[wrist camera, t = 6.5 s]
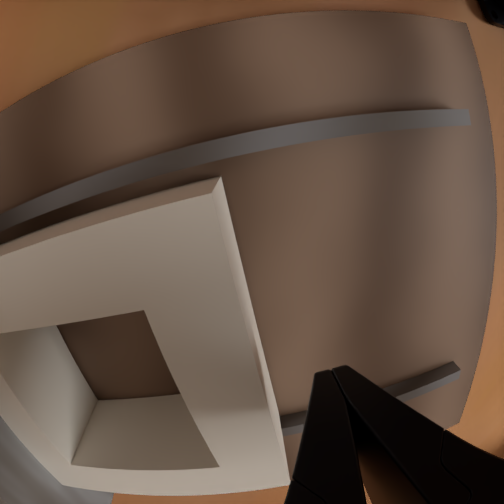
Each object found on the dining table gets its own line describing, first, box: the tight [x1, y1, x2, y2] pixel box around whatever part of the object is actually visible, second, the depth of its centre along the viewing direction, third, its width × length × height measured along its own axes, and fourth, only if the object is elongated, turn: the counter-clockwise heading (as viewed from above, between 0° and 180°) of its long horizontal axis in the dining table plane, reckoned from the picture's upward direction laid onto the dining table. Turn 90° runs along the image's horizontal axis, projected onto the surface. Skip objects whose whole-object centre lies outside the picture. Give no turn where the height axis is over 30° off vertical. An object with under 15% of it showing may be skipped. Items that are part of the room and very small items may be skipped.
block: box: [0, 176, 290, 496], centre depth 9 cm, size 10×10×4 cm
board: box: [0, 10, 497, 504], centre depth 9 cm, size 24×22×8 cm
